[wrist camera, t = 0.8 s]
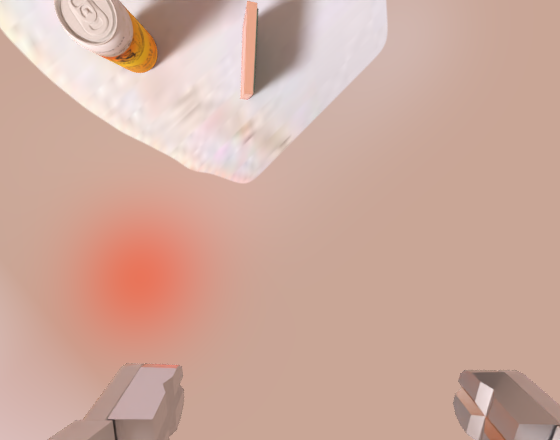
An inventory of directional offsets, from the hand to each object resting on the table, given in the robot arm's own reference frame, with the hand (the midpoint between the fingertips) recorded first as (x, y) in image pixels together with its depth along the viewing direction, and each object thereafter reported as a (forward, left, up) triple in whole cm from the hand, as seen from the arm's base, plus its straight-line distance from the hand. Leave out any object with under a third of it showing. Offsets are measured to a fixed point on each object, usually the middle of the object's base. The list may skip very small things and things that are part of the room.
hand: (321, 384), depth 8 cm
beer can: (-22, +1, -43) cm, 49 cm away
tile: (-10, +12, -43) cm, 46 cm away
